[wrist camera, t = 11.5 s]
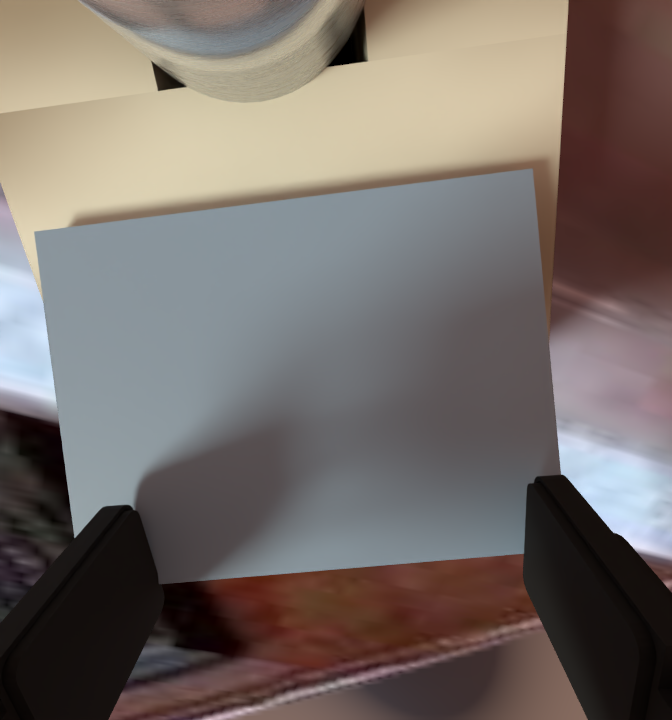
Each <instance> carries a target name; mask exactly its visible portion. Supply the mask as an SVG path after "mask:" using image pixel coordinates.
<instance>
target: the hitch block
mask: <svg viewBox="0 0 672 720" xmlns="http://www.w3.org/2000/svg"><path fill="white" fill-rule="evenodd" d="M568 3H569V0H366V1H365V4H364V7H363V10H362V13H361V15H360V17H359V19H358V22H357V24H356V26H355V29H354V30H353V32H352V34H351V35H350V38H351V49H352V60H353V64H346V65H339V66H332V67H326V68H325V69H324V70H323V71H322V72H321V73H320V74H319V75H318V76H317V77H315V78H314V79H313V80H311V81H310V82H309V83H307V84H306V85H304V86H302V87H301V88H299V89H297V90H295V91H294V92H292V93H289V94H287V95H284V96H281V97H279V98H276V99H271V100H267V101H262V102H250V103H239V102H228V101H224V100H219V99H215V98H211V97H209V96H206V95H203V94H201V93H198V92H196V91H194V90H192V89H190V88H188V87H187V86H185V85H183V84H181V83H180V82H178V81H177V80H175V79H174V78H173V77H171V76H170V75H169V74H167V73H166V72H165V71H163V70H162V69H161V68H160V67H158V66H157V65H156V64H155V63H154V62H152V61H151V60H150V59H149V58H147V57H146V56H145V55H144V54H143V53H141V52H140V51H139V50H138V49H136V48H135V47H134V46H133V45H132V44H130V43H129V42H128V41H127V40H125V39H124V38H123V37H122V36H121V35H119V34H118V33H117V32H116V31H114V30H113V29H112V28H111V27H110V26H108V25H107V24H106V23H105V22H103V21H102V20H101V19H100V18H99V17H97V16H96V15H95V14H94V13H93V12H91V11H90V10H89V9H88V8H86V7H85V6H84V5H83V4H82V3H80V2H79V1H78V0H0V182H1V185H2V188H3V191H4V194H5V196H6V199H7V202H8V205H9V208H10V210H11V213H12V216H13V219H14V222H15V224H16V227H17V230H18V233H19V235H20V238H21V241H22V244H23V247H24V249H25V252H26V255H27V258H28V261H29V263H30V266H31V269H32V272H33V275H34V277H35V280H36V283H37V286H38V289H39V291H40V294H41V297H42V300H43V295H42V288H41V280H40V273H39V265H38V257H37V250H36V242H35V235H34V232H35V231H43V230H51V229H59V228H67V227H74V226H82V225H90V224H98V223H106V222H114V221H122V220H130V219H138V218H145V217H153V216H161V215H169V214H177V213H185V212H193V211H201V210H209V209H216V208H224V207H232V206H240V205H248V204H256V203H264V202H272V201H279V200H287V199H295V198H303V197H311V196H319V195H327V194H335V193H343V192H350V191H358V190H366V189H374V188H382V187H390V186H398V185H406V184H414V183H421V182H429V181H437V180H445V179H453V178H461V177H469V176H477V175H485V174H492V173H500V172H508V171H516V170H524V169H532V168H533V177H534V188H535V199H536V210H537V220H538V231H539V242H540V253H541V264H542V275H543V286H544V297H545V307H546V318H547V329H548V340H549V333H550V315H551V298H552V281H553V263H554V246H555V228H556V211H557V194H558V176H559V159H560V142H561V124H562V107H563V90H564V72H565V55H566V37H567V20H568Z"/></svg>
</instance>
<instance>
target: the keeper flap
mask: <svg viewBox="0 0 672 720" xmlns="http://www.w3.org/2000/svg"><path fill="white" fill-rule="evenodd" d="M34 235H35V242H36V250H37V257H38V265H39V273H40V280H41V288H42V295H43V303H44V310H45V318H46V325H47V333H48V340H49V348H50V355H51V363H52V371H53V378H54V386H55V393H56V401H57V408H58V416H59V423H60V431H61V438H62V446H63V453H64V461H65V468H66V476H67V484H68V491H69V499H70V506H71V514H72V521H73V529H74V536H75V537H76V536H77V535H78V534H79V533H80V532H81V531H82V529H83V528H84V527H85V526H86V525H87V524H88V523H89V521H90V520H91V519H92V518H93V517H94V516H95V515H96V513H97V512H98V511H99V510H100V509H101V508H102V507H105V506H114V505H130V506H131V507H132V508H133V510H136V511H138V512H139V514H140V517H141V521H142V524H143V527H144V530H145V533H146V537H147V540H148V543H149V546H150V550H151V553H152V556H153V559H154V563H155V566H156V569H157V572H158V580H159V584H167V583H179V582H191V581H203V580H215V579H226V578H238V577H250V576H262V575H274V574H286V573H298V572H310V571H321V570H333V569H345V568H357V567H369V566H381V565H393V564H405V563H416V562H428V561H440V560H452V559H464V558H476V557H488V556H500V555H511V554H523V553H524V540H525V518H526V496H527V486H528V484H529V483H534V480H535V478H536V477H537V476H549V475H561V471H560V460H559V449H558V438H557V427H556V416H555V405H554V394H553V384H552V373H551V362H550V351H549V340H548V329H547V318H546V307H545V297H544V286H543V275H542V264H541V253H540V242H539V231H538V220H537V210H536V199H535V188H534V177H533V168H532V169H524V170H516V171H508V172H500V173H492V174H485V175H477V176H469V177H461V178H453V179H445V180H437V181H429V182H421V183H414V184H406V185H398V186H390V187H382V188H374V189H366V190H358V191H350V192H343V193H335V194H327V195H319V196H311V197H303V198H295V199H287V200H279V201H272V202H264V203H256V204H248V205H240V206H232V207H224V208H216V209H209V210H201V211H193V212H185V213H177V214H169V215H161V216H153V217H145V218H138V219H130V220H122V221H114V222H106V223H98V224H90V225H82V226H74V227H67V228H59V229H51V230H43V231H35V232H34Z"/></svg>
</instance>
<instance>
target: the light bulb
mask: <svg viewBox="0 0 672 720" xmlns="http://www.w3.org/2000/svg"><path fill="white" fill-rule="evenodd" d="M78 1H79V2H80V3H82V4H83V5H84V6H85V7H86V8H88V9H89V10H90V11H91V12H93V13H94V14H95V15H96V16H97V17H99V18H100V19H101V20H102V21H103V22H105V23H106V24H107V25H108V26H110V27H111V28H112V29H113V30H114V31H116V32H117V33H118V34H119V35H121V36H122V37H123V38H124V39H125V40H127V41H128V42H129V43H130V44H132V45H133V46H134V47H135V48H136V49H138V50H139V51H140V52H141V53H143V54H144V55H145V56H146V57H147V58H149V59H150V60H151V61H152V62H154V63H155V64H156V65H157V66H158V67H160V68H161V69H162V70H163V71H165V72H166V73H167V74H169V75H170V76H171V77H173V78H174V79H175V80H177V81H178V82H180V83H181V84H183V85H185V86H187V87H188V88H190V89H192V90H194V91H196V92H198V93H201V94H203V95H206V96H209V97H211V98H215V99H219V100H224V101H228V102H239V103H250V102H262V101H267V100H271V99H276V98H279V97H281V96H284V95H287V94H289V93H292V92H294V91H295V90H297V89H299V88H301V87H302V86H304V85H306V84H307V83H309V82H310V81H311V80H313V79H314V78H315V77H317V76H318V75H319V74H320V73H321V72H322V71H323V70H324V69H325V68H326V67H327V66H328V65H329V64H330V63H331V62H332V61H333V60H334V59H335V58H336V56H337V55H338V54H339V52H340V51H341V50H342V48H343V47H344V46H345V44H346V42H347V41H348V39H349V37H350V35H351V34H352V32H353V30H354V29H355V26H356V24H357V22H358V19H359V17H360V15H361V13H362V10H363V7H364V4H365V1H366V0H78Z"/></svg>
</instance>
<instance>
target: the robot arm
mask: <svg viewBox="0 0 672 720" xmlns="http://www.w3.org/2000/svg"><path fill="white" fill-rule="evenodd" d="M523 578H524V584H525V587H526V590H527V592H528V595H529V597H530V599H531V601H532V603H533V605H534V607H535V609H536V611H537V614H538V616H539V618H540V620H541V622H542V624H543V626H544V628H545V630H546V632H547V635H548V637H549V639H550V641H551V643H552V645H553V647H554V649H555V651H556V653H557V655H558V658H559V660H560V662H561V664H562V666H563V668H564V670H565V672H566V674H567V677H568V678H569V681H570V683H571V685H572V687H573V689H574V691H575V693H576V695H577V698H578V700H579V702H580V704H581V706H582V708H583V710H584V712H585V714H586V716H587V718H588V720H672V593H671V591H670V590H669V589H668V588H667V587H666V586H665V584H664V583H663V582H662V581H661V580H660V579H659V578H658V576H657V575H656V574H655V573H654V572H653V571H652V569H651V568H650V567H649V566H648V565H647V564H646V562H645V561H644V560H643V559H642V558H641V557H640V556H639V554H638V553H637V552H636V551H635V550H634V549H633V547H632V546H631V545H630V544H629V543H628V542H627V541H626V540H625V539H624V538H623V537H622V536H620V535H618V534H616V533H613V532H612V531H611V530H610V529H609V527H608V526H607V525H606V524H605V523H604V521H603V520H602V519H601V518H600V517H599V515H598V514H597V513H596V512H595V511H594V510H593V508H592V507H591V506H590V505H589V504H588V502H587V501H586V500H585V499H584V498H583V496H582V495H581V494H580V493H579V492H578V491H577V489H576V488H575V487H574V486H573V485H572V483H571V482H570V481H569V480H568V479H567V478H566V477H565V476H564V475H549V476H537V477H536V478H535V480H534V483H529V484H528V486H527V496H526V518H525V540H524V563H523ZM163 604H164V592H163V588H162V585H161V584H159V580H158V572H157V569H156V566H155V563H154V559H153V556H152V553H151V550H150V546H149V543H148V540H147V537H146V533H145V530H144V527H143V524H142V521H141V517H140V514H139V512H138V511H136V510H133V508H132V507H131V506H130V505H114V506H105V507H102V508H101V509H100V510H99V511H98V512H97V513H96V515H95V516H94V517H93V518H92V519H91V520H90V521H89V523H88V524H87V525H86V526H85V527H84V528H83V529H82V531H81V532H80V533H79V534H78V535H77V536H76V537H75V539H74V540H73V541H72V542H71V543H70V544H69V545H68V547H67V548H66V549H65V550H64V551H63V552H62V553H61V555H60V556H59V557H58V558H57V559H56V560H55V561H54V563H53V564H52V565H51V566H50V567H49V568H48V569H47V571H46V572H45V573H44V574H43V575H42V576H41V577H40V579H39V580H38V581H37V582H36V583H35V584H34V585H33V587H32V588H31V589H30V590H29V591H28V592H27V593H26V595H25V596H24V597H23V598H22V599H21V600H20V601H19V603H18V604H17V605H16V606H15V607H14V608H13V609H12V611H11V612H10V613H9V614H8V615H7V616H6V617H5V619H4V620H3V621H2V622H1V623H0V720H108V719H109V717H110V715H111V713H112V711H113V709H114V707H115V705H116V703H117V701H118V699H119V697H120V694H121V692H122V690H123V688H124V686H125V684H126V682H127V680H128V678H129V676H130V674H131V672H132V670H133V668H134V666H135V664H136V662H137V660H138V658H139V656H140V654H141V652H142V649H143V647H144V645H145V643H146V641H147V639H148V637H149V635H150V633H151V631H152V629H153V627H154V625H155V623H156V621H157V619H158V617H159V615H160V613H161V610H162V608H163Z"/></svg>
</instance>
